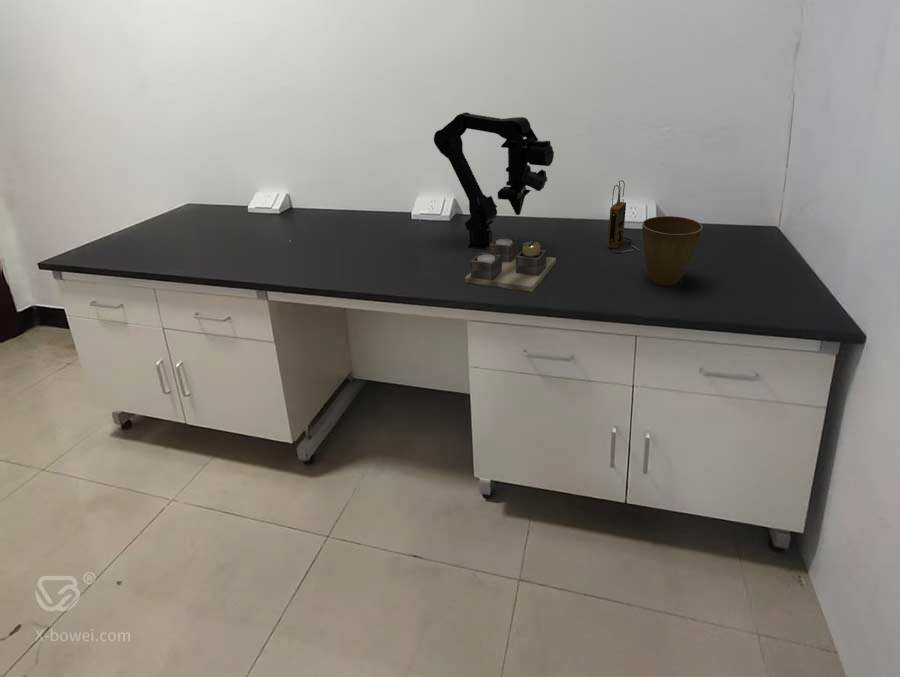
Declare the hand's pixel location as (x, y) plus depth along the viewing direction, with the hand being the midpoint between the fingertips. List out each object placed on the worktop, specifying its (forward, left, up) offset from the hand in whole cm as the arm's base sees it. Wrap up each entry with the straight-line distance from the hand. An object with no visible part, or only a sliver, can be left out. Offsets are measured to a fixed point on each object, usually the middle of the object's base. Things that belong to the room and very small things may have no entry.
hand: (518, 214), depth 183 cm
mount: (+4, -16, -12) cm, 21 cm away
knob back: (-1, -9, -10) cm, 14 cm away
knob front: (-1, -23, -10) cm, 26 cm away
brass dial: (+10, -17, -8) cm, 21 cm away
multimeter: (+31, +14, -12) cm, 36 cm away
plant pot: (+46, -9, -12) cm, 48 cm away
